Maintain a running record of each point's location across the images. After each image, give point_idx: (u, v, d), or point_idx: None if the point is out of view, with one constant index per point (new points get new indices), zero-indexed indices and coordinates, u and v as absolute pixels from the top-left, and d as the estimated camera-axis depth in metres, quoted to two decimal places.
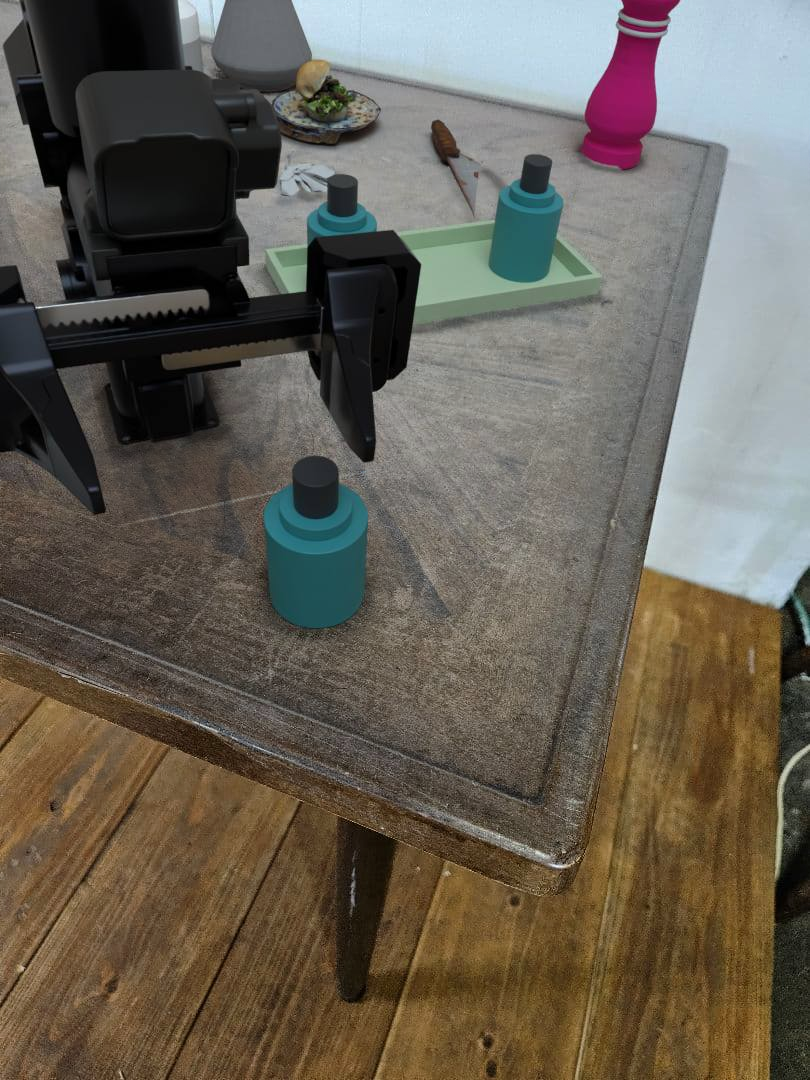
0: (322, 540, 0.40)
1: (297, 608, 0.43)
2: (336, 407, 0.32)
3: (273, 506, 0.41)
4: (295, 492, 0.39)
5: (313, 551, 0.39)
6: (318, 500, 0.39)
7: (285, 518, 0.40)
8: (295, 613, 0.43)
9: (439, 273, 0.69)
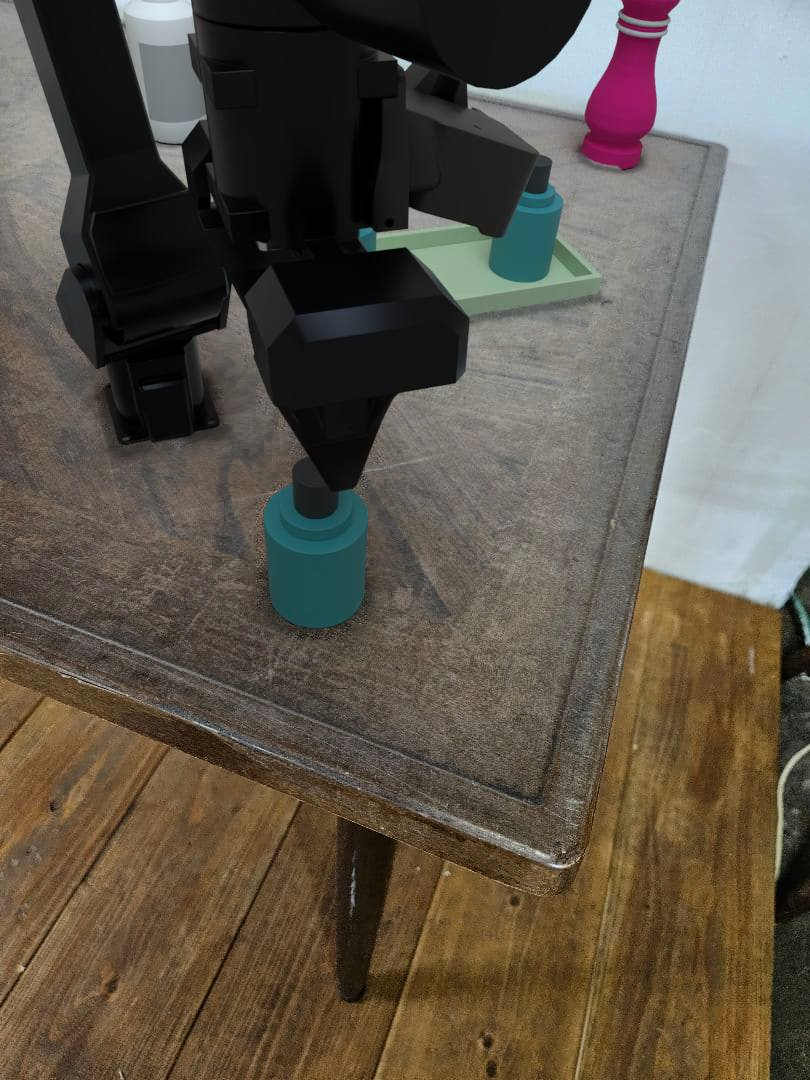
0: (322, 540, 0.40)
1: (297, 608, 0.43)
2: None
3: (273, 506, 0.41)
4: (295, 492, 0.39)
5: (313, 551, 0.39)
6: (318, 500, 0.39)
7: (285, 518, 0.40)
8: (295, 613, 0.43)
9: (439, 273, 0.69)
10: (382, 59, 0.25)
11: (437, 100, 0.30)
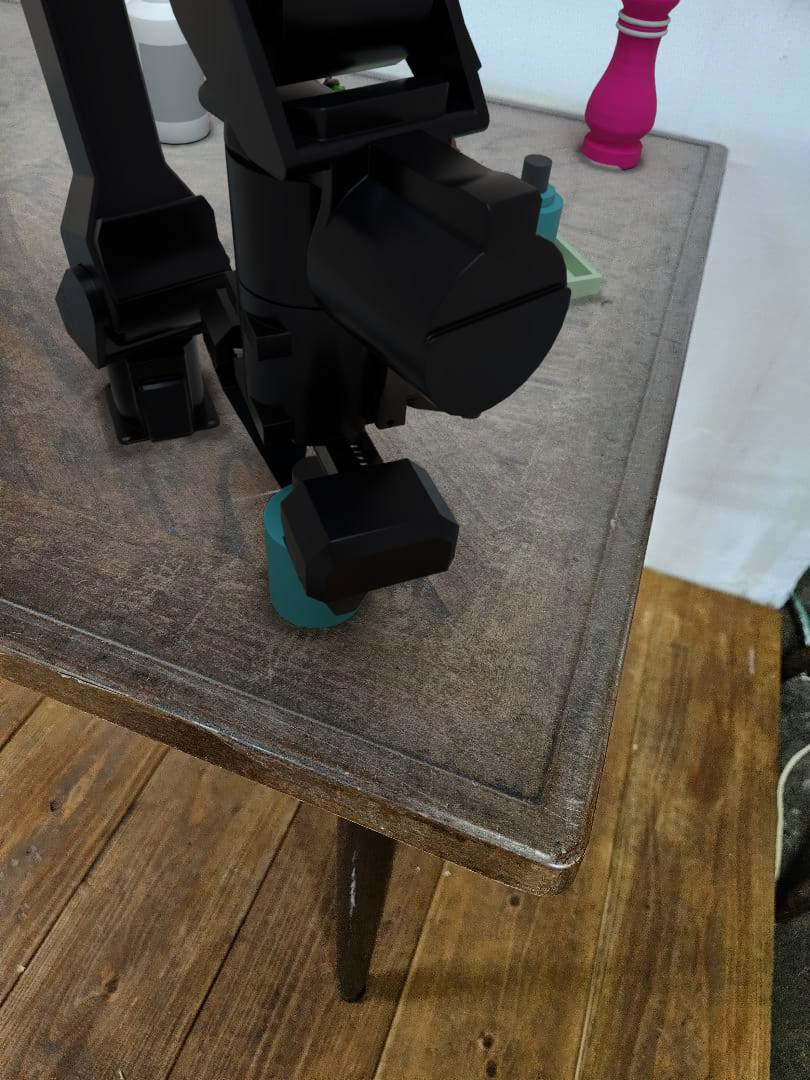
0: None
1: (297, 608, 0.43)
2: None
3: (273, 506, 0.41)
4: None
5: None
6: None
7: None
8: (295, 613, 0.43)
9: None
10: None
11: None
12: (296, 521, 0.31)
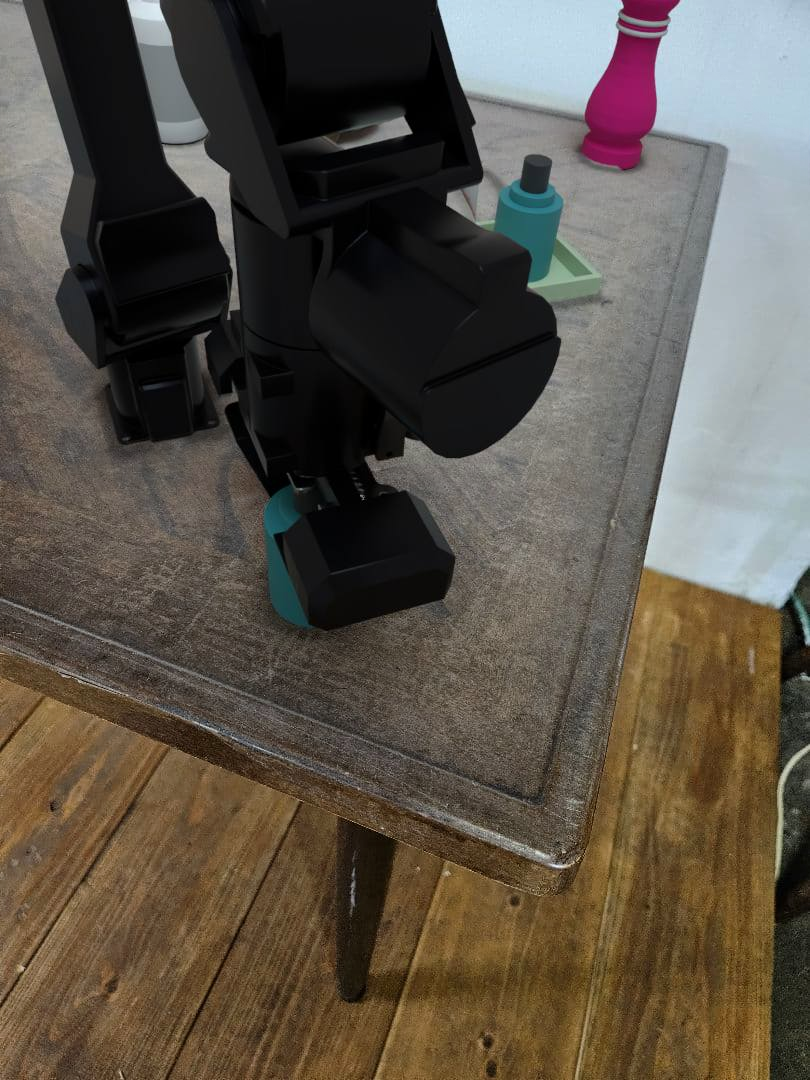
0: None
1: (297, 607, 0.43)
2: (279, 483, 0.43)
3: (273, 505, 0.41)
4: None
5: None
6: (318, 500, 0.39)
7: (285, 518, 0.40)
8: (295, 613, 0.43)
9: None
10: None
11: None
12: (298, 553, 0.32)
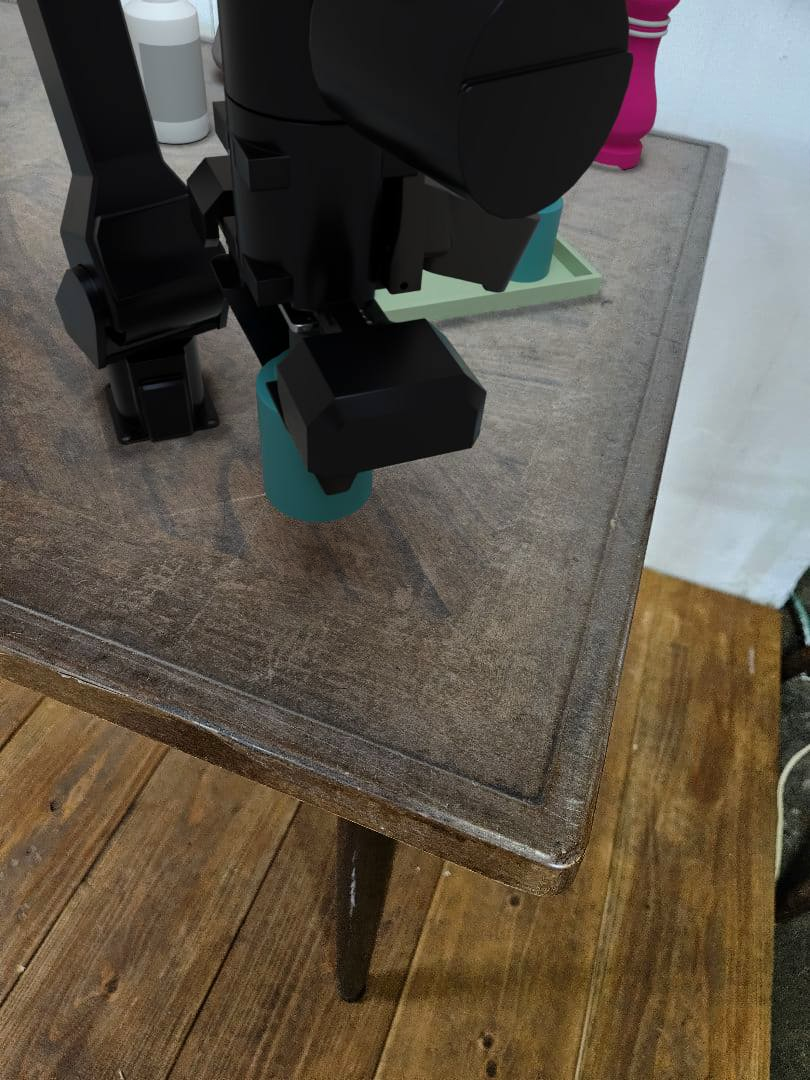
0: None
1: (294, 495, 0.37)
2: (274, 351, 0.37)
3: (267, 372, 0.36)
4: (292, 347, 0.33)
5: None
6: None
7: None
8: (292, 502, 0.37)
9: None
10: None
11: None
12: (295, 382, 0.26)
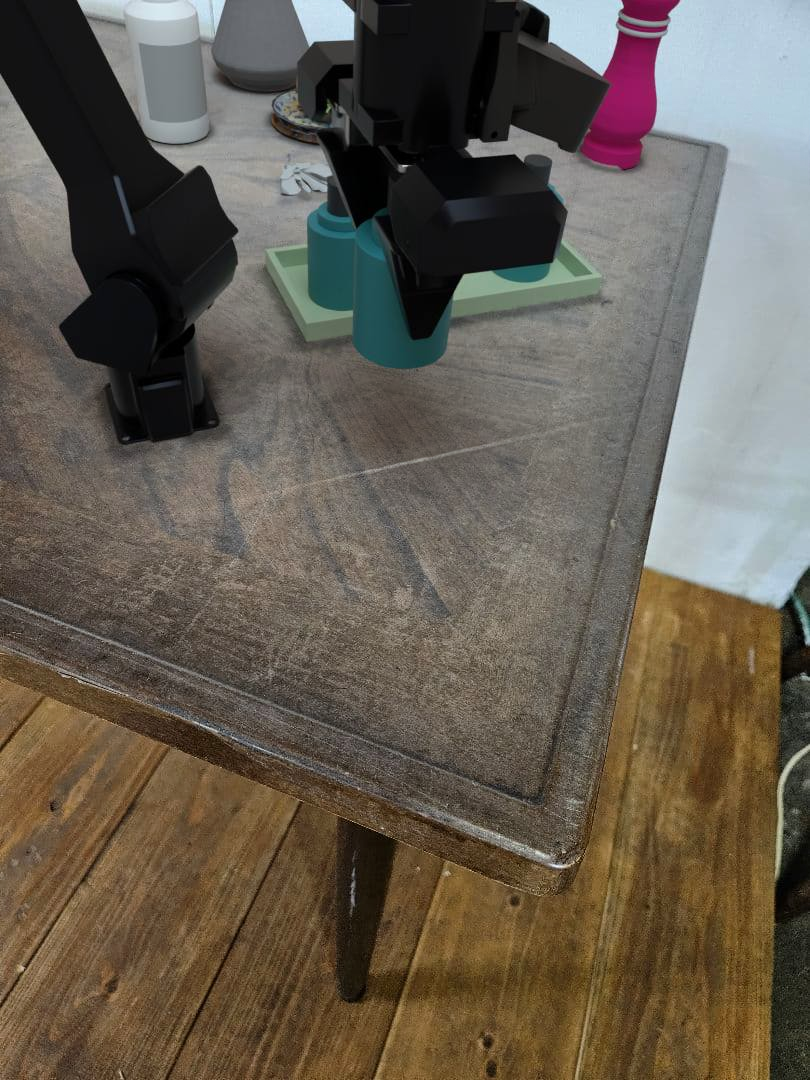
0: None
1: (383, 341, 0.42)
2: (368, 215, 0.42)
3: (364, 229, 0.41)
4: None
5: None
6: None
7: None
8: (380, 349, 0.43)
9: None
10: (504, 0, 0.32)
11: (527, 35, 0.37)
12: (409, 196, 0.32)
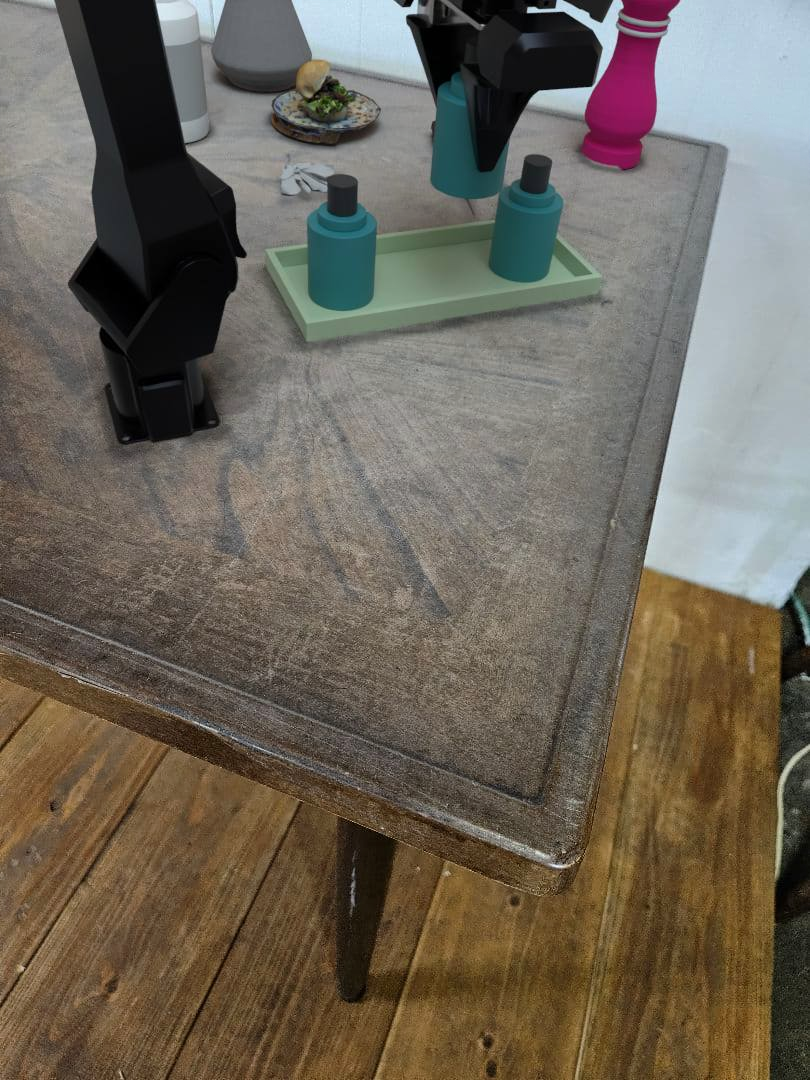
0: None
1: (458, 175, 0.56)
2: (444, 81, 0.56)
3: (444, 87, 0.55)
4: (467, 59, 0.52)
5: None
6: None
7: (458, 84, 0.53)
8: (455, 182, 0.56)
9: (439, 273, 0.69)
10: None
11: None
12: (494, 36, 0.45)
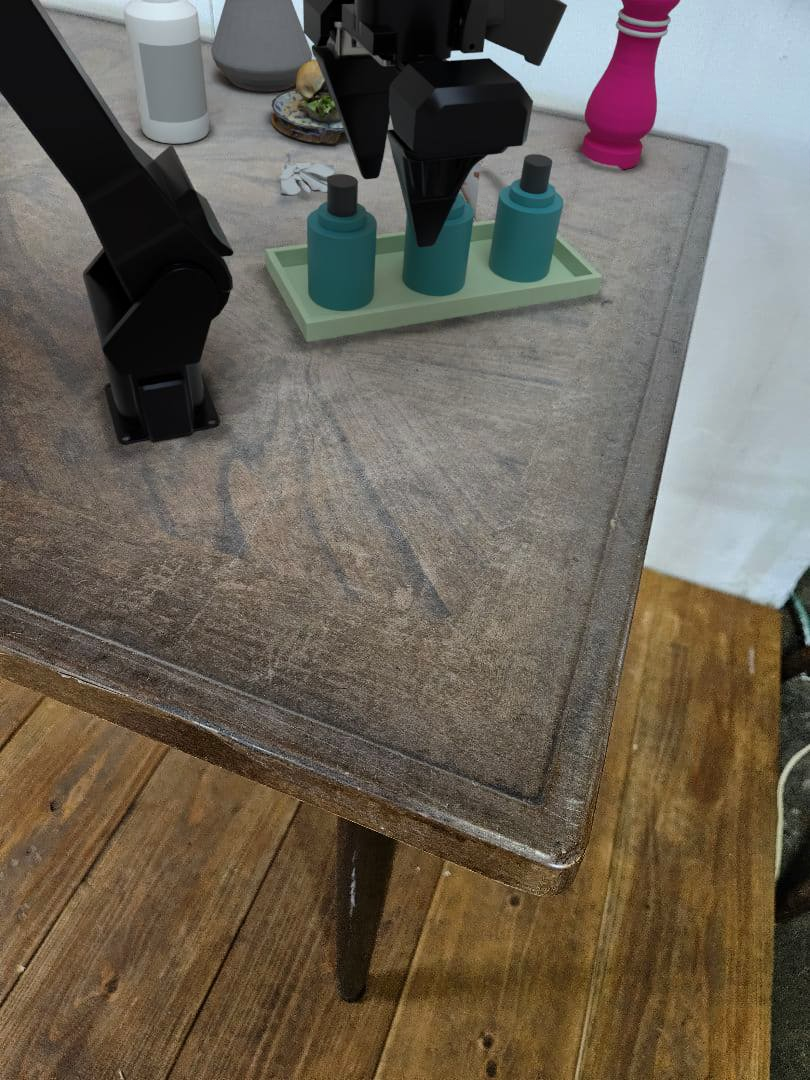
0: (447, 219, 0.62)
1: (425, 277, 0.65)
2: (356, 117, 0.51)
3: None
4: None
5: None
6: None
7: None
8: (423, 282, 0.65)
9: None
10: None
11: None
12: (405, 89, 0.39)
